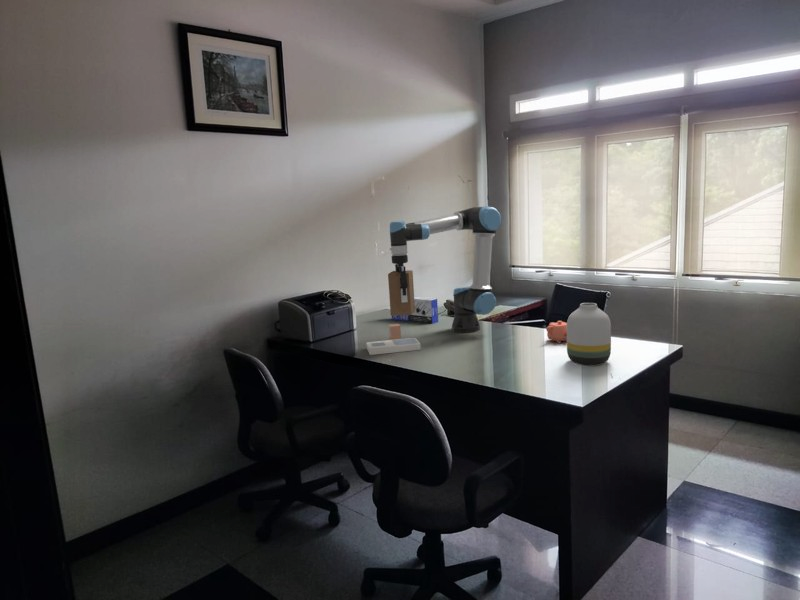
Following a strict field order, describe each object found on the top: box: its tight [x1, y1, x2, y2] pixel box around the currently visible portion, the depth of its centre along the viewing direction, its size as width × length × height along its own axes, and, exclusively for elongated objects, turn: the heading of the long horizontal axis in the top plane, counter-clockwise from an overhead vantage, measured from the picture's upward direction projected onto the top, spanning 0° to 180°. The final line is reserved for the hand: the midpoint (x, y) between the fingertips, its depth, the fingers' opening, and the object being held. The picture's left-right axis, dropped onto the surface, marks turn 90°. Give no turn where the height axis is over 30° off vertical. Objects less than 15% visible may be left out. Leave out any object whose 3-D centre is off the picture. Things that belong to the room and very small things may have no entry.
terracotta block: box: [388, 323, 402, 340], centre depth 283 cm, size 5×5×8 cm
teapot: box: [545, 320, 567, 344], centre depth 262 cm, size 12×12×10 cm
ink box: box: [391, 296, 439, 325], centre depth 329 cm, size 30×7×14 cm, turn 51°
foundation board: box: [365, 337, 421, 356], centre depth 266 cm, size 24×13×3 cm, turn 100°
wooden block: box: [387, 269, 415, 317], centre depth 264 cm, size 10×10×20 cm
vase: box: [566, 302, 612, 366], centre depth 225 cm, size 17×17×24 cm
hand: (402, 300), depth 264 cm, fingers closed on wooden block, 12 cm apart
